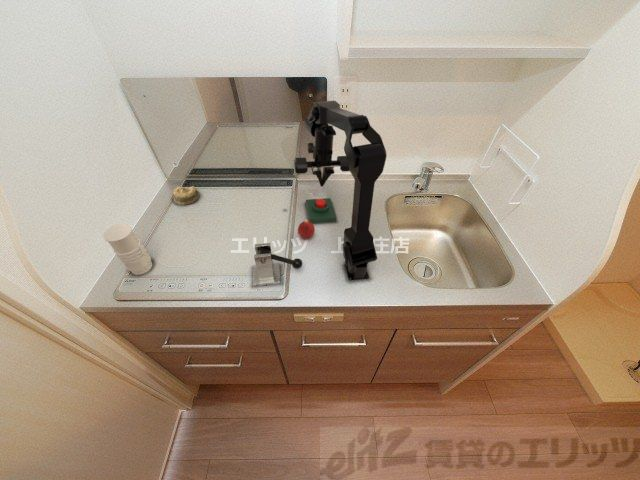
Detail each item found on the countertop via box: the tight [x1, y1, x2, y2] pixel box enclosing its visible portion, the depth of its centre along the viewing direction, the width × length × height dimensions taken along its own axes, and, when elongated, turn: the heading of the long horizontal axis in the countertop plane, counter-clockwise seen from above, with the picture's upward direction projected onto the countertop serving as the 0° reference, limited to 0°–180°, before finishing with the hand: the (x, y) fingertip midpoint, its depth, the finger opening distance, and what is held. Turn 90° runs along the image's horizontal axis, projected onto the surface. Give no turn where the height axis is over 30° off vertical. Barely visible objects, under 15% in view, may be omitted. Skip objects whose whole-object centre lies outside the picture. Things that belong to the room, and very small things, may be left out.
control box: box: [305, 197, 337, 225], centre depth 103 cm, size 12×10×4 cm
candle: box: [102, 223, 153, 276], centre depth 78 cm, size 7×7×15 cm
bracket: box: [252, 242, 281, 287], centre depth 78 cm, size 8×7×12 cm
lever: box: [257, 247, 304, 270], centre depth 78 cm, size 14×3×3 cm
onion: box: [297, 219, 316, 240], centre depth 92 cm, size 6×6×8 cm
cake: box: [172, 185, 201, 206], centre depth 106 cm, size 10×10×5 cm
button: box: [316, 198, 326, 208], centre depth 101 cm, size 4×4×2 cm
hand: (321, 185), depth 96 cm, fingers closed
